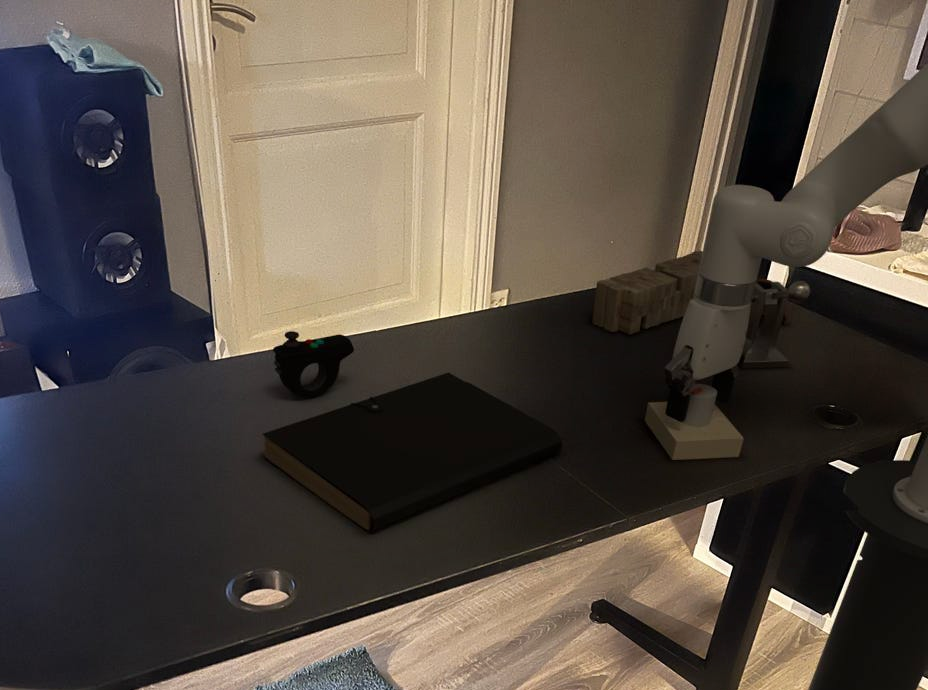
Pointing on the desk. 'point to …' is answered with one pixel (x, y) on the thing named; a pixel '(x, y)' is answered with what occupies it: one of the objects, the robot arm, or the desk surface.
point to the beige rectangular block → (694, 435)
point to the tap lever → (788, 293)
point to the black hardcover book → (408, 448)
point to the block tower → (646, 295)
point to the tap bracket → (765, 331)
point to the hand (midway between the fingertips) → (697, 409)
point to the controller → (310, 362)
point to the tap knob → (700, 405)
